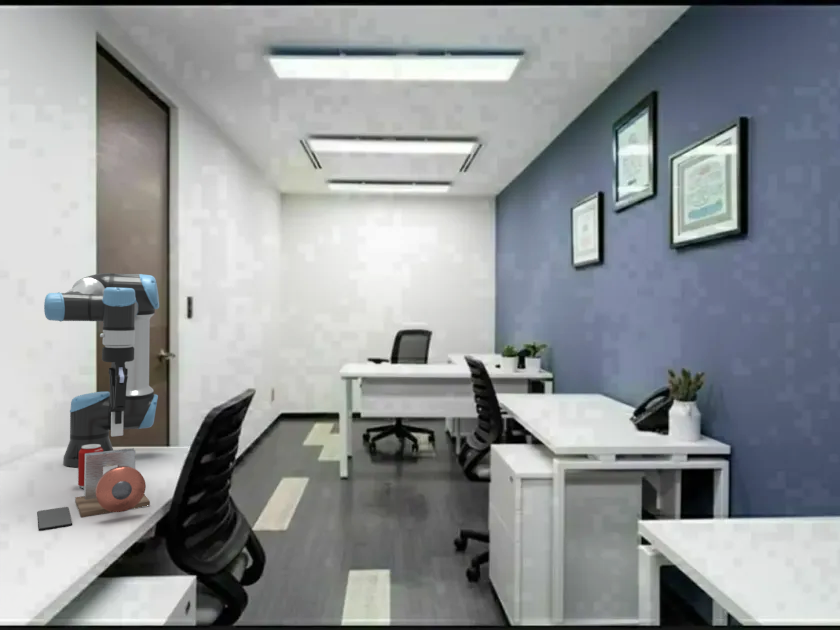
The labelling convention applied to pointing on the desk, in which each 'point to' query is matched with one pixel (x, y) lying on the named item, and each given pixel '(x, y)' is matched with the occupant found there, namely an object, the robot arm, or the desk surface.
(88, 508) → the walnut board
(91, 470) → the eye plate
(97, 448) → the beverage can
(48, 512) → the smartphone
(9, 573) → the desk surface
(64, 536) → the desk surface
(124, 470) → the copper knob thumbscrew
